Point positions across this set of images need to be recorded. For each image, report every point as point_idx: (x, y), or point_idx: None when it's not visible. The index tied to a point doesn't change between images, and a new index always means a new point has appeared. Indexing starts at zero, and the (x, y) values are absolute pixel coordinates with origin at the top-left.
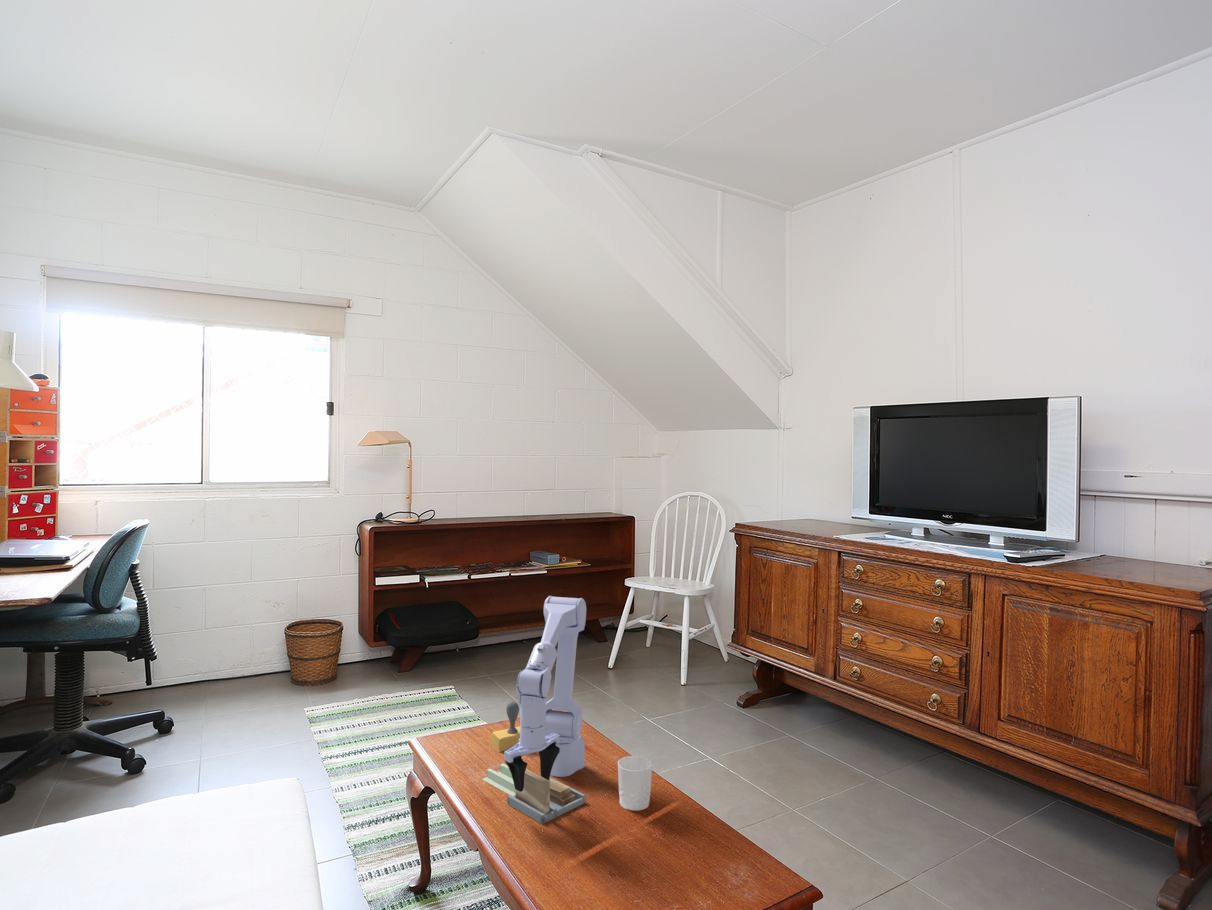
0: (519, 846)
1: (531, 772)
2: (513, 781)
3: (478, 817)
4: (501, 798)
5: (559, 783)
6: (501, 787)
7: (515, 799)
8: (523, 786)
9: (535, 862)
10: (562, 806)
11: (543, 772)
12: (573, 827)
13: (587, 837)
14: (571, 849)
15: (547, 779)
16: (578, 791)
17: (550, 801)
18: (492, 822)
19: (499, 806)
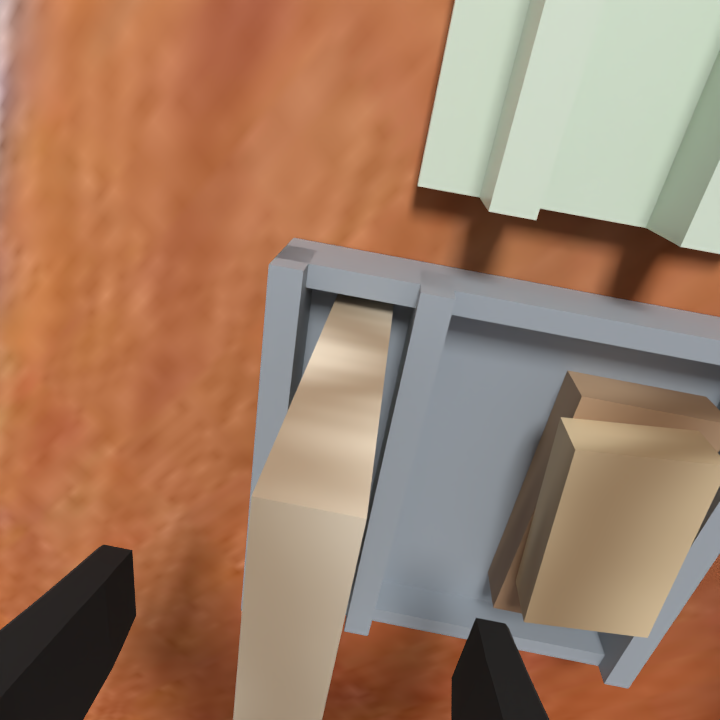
0: (64, 549)
1: (308, 699)
2: (36, 602)
3: (32, 146)
4: (379, 68)
5: (671, 558)
6: None
7: (274, 361)
8: (106, 670)
9: None
10: (489, 570)
11: (474, 711)
12: (369, 651)
13: (339, 714)
14: (223, 702)
15: (454, 690)
16: (656, 645)
17: (512, 482)
18: (79, 289)
19: (263, 165)
